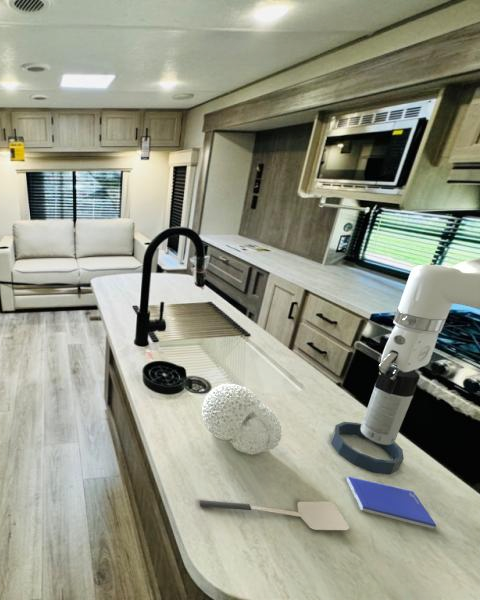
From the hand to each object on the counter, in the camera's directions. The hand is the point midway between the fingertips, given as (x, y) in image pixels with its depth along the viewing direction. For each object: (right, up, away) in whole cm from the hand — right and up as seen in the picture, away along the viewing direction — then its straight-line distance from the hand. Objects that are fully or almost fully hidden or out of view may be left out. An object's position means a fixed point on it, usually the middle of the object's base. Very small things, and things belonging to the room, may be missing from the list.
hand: (392, 386), depth 76 cm
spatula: (-34, -27, -6) cm, 44 cm away
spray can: (+1, -15, +5) cm, 15 cm away
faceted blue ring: (0, -20, +8) cm, 22 cm away
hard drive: (-6, -26, -5) cm, 27 cm away
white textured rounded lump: (-31, -19, +15) cm, 39 cm away
